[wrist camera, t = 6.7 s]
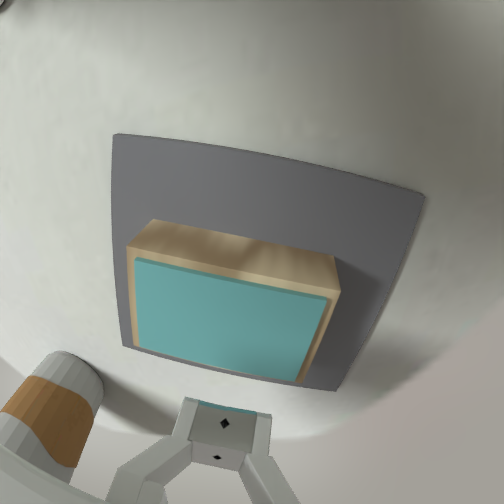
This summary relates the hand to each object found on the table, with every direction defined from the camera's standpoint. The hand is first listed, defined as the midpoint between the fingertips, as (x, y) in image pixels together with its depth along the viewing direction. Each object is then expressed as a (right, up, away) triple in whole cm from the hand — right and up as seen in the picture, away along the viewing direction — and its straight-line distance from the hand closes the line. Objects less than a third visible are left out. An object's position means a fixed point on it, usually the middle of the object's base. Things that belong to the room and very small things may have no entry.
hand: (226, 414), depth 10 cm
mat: (0, +4, +7) cm, 8 cm away
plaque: (+4, +2, +5) cm, 7 cm away
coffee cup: (-15, -5, +14) cm, 22 cm away
